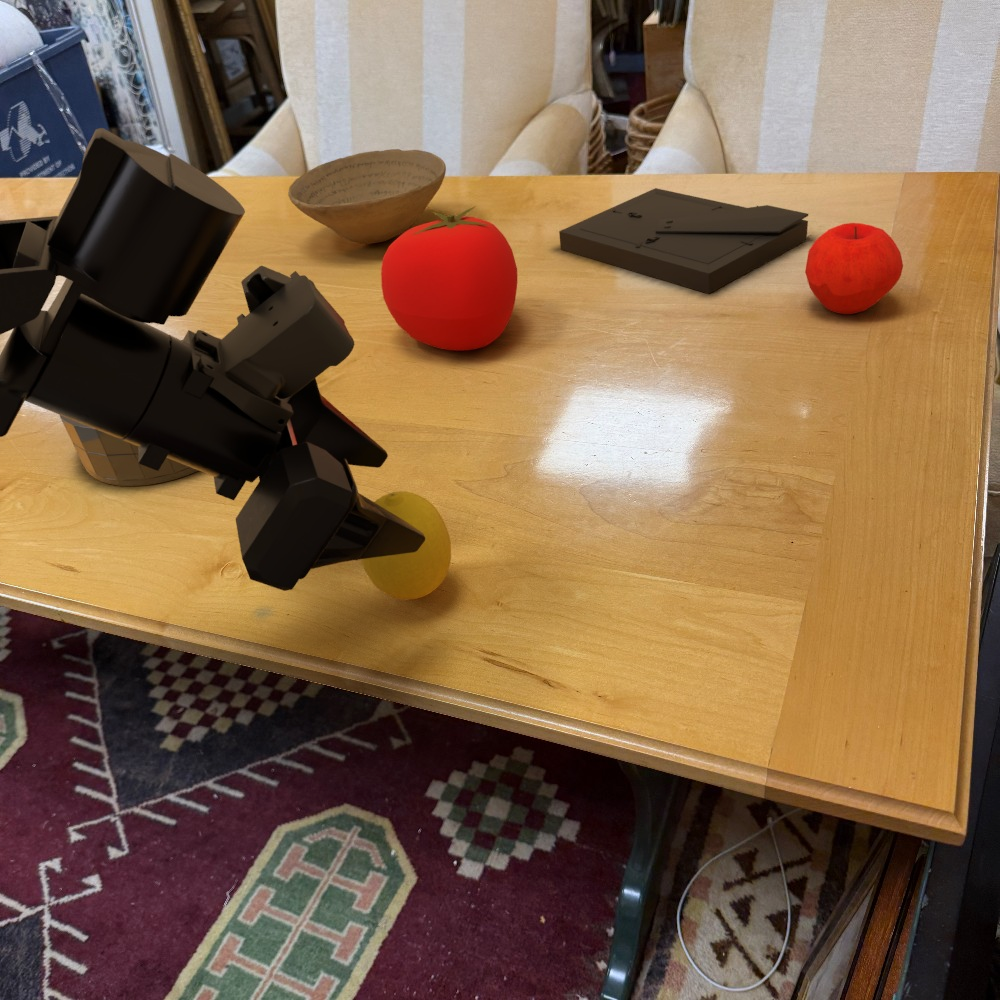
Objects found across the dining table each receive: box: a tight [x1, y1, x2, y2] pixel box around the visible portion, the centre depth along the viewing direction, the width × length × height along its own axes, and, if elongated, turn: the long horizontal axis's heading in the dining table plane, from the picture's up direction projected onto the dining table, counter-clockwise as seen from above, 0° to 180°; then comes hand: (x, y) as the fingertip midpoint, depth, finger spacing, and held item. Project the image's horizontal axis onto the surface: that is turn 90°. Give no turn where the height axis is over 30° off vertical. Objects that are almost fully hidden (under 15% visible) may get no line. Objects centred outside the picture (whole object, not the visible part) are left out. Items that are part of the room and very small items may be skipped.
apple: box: [804, 222, 904, 315], centre depth 80 cm, size 8×8×7 cm
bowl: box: [287, 148, 447, 245], centre depth 109 cm, size 18×18×8 cm
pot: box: [59, 339, 200, 487], centre depth 77 cm, size 15×15×6 cm
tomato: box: [380, 205, 518, 352], centre depth 83 cm, size 12×14×11 cm
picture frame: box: [558, 187, 809, 295], centre depth 97 cm, size 16×3×21 cm
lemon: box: [360, 491, 452, 601], centre depth 56 cm, size 6×6×8 cm
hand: (401, 499), depth 54 cm, fingers open, 9 cm apart
